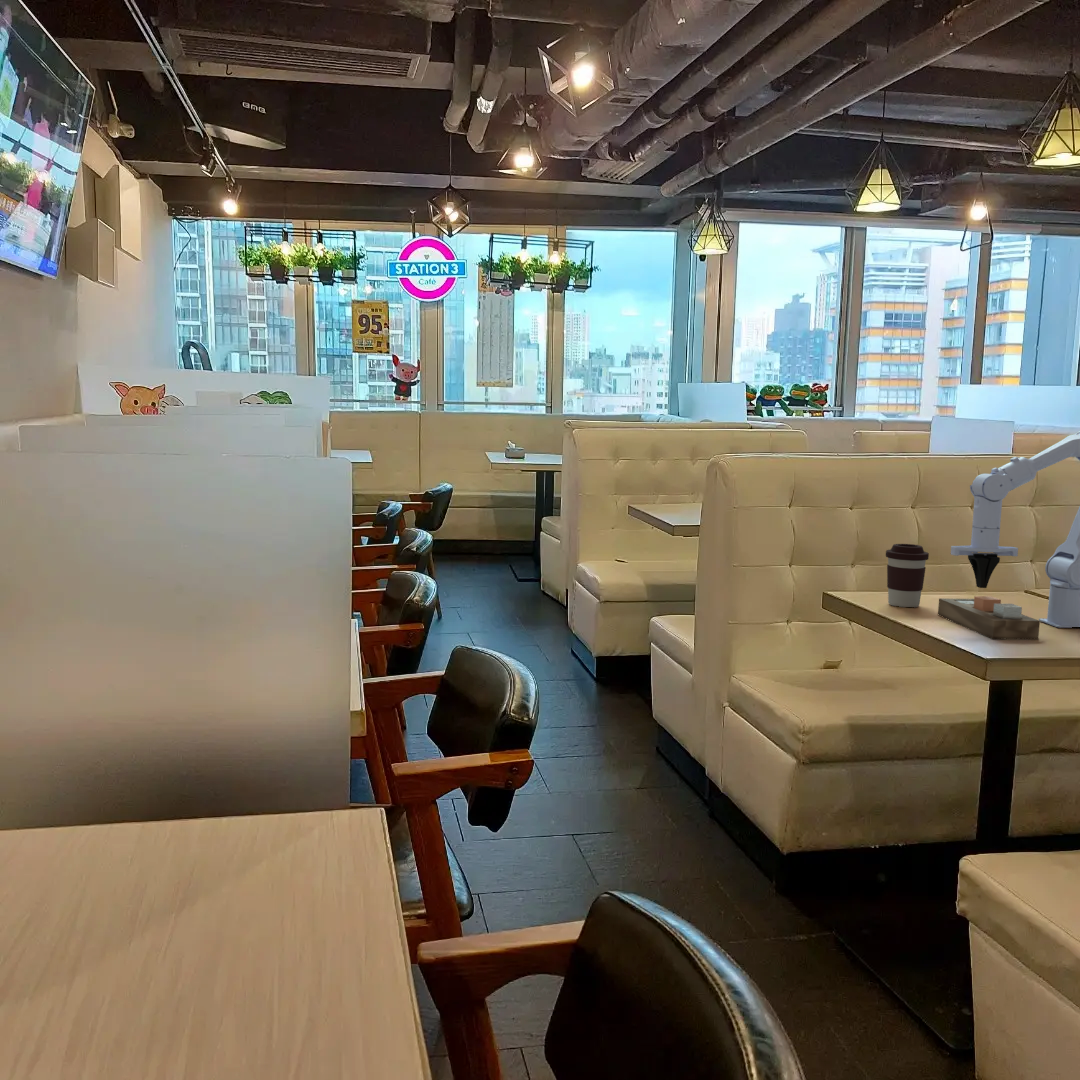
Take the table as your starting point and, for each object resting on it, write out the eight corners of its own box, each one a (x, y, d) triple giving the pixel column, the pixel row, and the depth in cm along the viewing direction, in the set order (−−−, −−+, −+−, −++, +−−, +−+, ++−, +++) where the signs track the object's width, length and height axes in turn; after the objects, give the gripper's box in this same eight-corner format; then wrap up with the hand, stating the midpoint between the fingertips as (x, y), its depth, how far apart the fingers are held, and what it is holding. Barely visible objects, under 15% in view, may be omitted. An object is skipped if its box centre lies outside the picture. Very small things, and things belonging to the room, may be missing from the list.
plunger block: (978, 615, 237) (980, 598, 236) (1038, 639, 212) (1039, 620, 211) (937, 615, 236) (939, 598, 235) (992, 639, 211) (994, 620, 211)
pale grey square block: (1010, 617, 217) (1011, 603, 217) (1020, 621, 213) (1021, 607, 213) (993, 617, 217) (994, 603, 216) (1002, 621, 213) (1003, 607, 212)
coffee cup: (898, 609, 241) (902, 548, 240) (874, 602, 251) (878, 542, 249) (933, 608, 244) (938, 547, 242) (908, 601, 254) (912, 542, 252)
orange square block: (990, 609, 226) (991, 596, 225) (999, 613, 222) (1000, 599, 221) (973, 609, 225) (974, 596, 225) (982, 613, 221) (983, 599, 221)
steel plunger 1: (970, 613, 234) (971, 600, 234) (979, 616, 230) (980, 604, 230) (954, 613, 234) (955, 600, 234) (962, 616, 230) (963, 603, 230)
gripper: (1008, 525, 228) (1003, 584, 230) (946, 525, 228) (942, 583, 229) (1024, 529, 221) (1019, 590, 223) (960, 528, 221) (956, 589, 222)
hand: (981, 587), depth 226 cm, fingers closed
